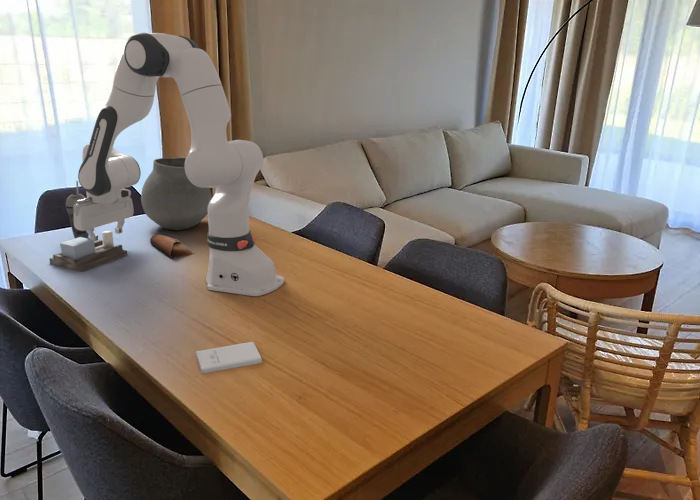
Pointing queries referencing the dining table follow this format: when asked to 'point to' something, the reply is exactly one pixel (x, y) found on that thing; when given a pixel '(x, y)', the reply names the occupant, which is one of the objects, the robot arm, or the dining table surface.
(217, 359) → the external hard drive
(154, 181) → the ceramic pot
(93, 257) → the tray
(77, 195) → the beverage cup
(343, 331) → the dining table surface
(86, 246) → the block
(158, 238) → the sunglasses case
